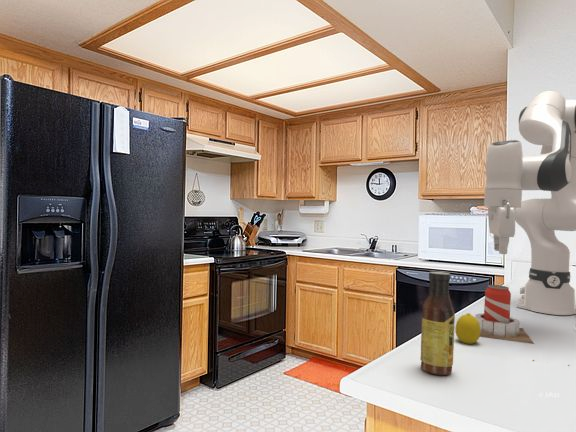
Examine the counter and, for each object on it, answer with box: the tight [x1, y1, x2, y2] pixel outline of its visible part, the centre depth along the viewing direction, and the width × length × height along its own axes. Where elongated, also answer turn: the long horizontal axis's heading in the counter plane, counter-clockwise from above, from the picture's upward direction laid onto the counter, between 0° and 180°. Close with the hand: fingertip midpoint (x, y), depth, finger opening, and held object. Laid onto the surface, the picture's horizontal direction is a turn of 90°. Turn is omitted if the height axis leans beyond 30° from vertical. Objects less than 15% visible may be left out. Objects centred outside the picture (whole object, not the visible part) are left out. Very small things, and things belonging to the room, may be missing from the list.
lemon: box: [454, 313, 481, 345], centre depth 99 cm, size 6×6×8 cm
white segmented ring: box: [474, 312, 521, 337], centre depth 109 cm, size 10×10×4 cm
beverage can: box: [483, 284, 512, 323], centre depth 109 cm, size 6×6×12 cm
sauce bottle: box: [420, 271, 456, 376], centre depth 83 cm, size 7×6×20 cm
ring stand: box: [479, 327, 535, 345], centre depth 109 cm, size 15×15×1 cm
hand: (500, 252), depth 109 cm, fingers open, 8 cm apart
